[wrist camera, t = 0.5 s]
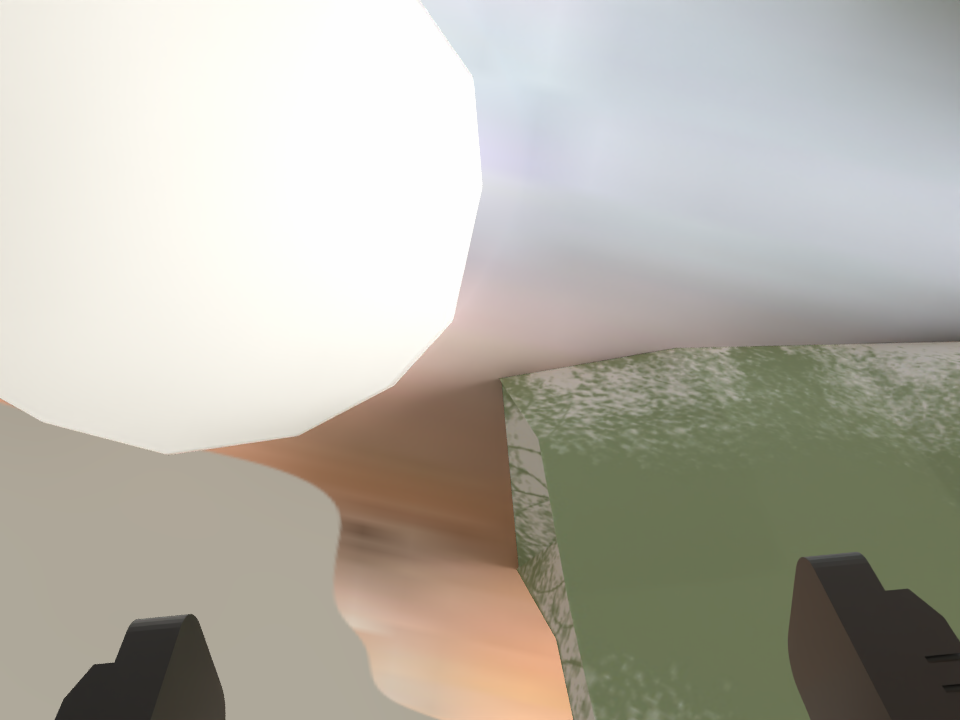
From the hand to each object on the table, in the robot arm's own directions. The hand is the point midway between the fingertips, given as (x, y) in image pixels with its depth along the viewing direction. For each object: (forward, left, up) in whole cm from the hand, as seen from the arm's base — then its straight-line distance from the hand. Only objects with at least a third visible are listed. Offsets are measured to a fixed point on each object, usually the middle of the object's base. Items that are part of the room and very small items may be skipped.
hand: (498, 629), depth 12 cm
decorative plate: (+4, -12, -28) cm, 30 cm away
